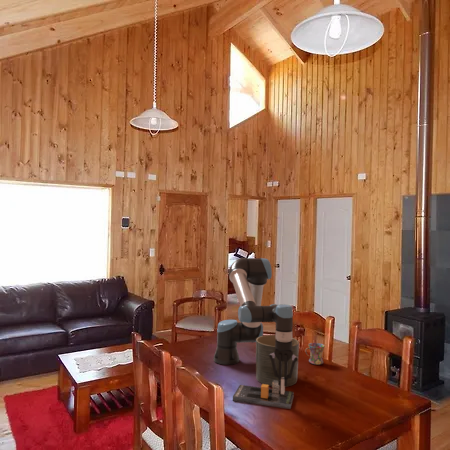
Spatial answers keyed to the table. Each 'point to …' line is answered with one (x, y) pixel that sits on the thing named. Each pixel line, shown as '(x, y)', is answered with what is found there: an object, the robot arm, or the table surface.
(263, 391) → the handle
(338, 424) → the table surface
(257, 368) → the planter
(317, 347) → the mug
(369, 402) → the table surface
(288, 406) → the panel
